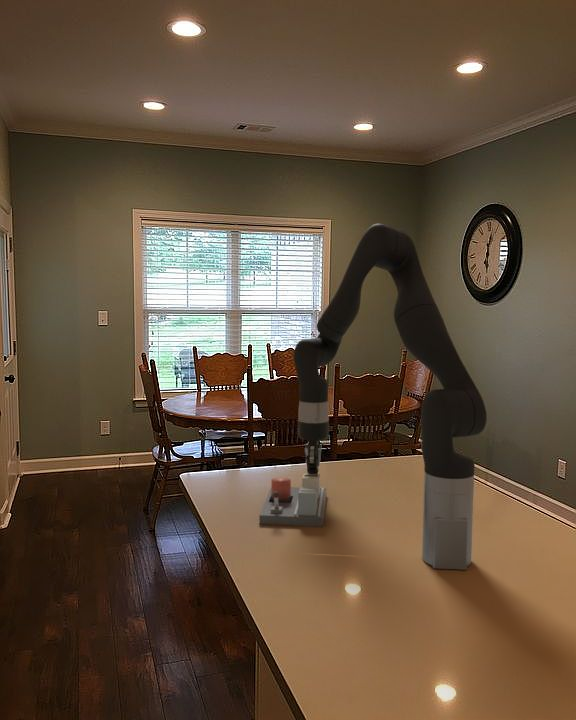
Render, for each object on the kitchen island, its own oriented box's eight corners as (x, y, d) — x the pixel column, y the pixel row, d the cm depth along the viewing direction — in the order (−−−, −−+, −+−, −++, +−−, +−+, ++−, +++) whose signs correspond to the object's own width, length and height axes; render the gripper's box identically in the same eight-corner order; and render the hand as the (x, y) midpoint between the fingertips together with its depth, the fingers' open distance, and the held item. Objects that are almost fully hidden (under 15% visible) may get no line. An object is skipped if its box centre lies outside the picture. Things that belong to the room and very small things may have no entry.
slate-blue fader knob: (316, 515, 142) (316, 492, 142) (298, 515, 142) (298, 492, 142) (317, 509, 146) (317, 487, 146) (299, 509, 146) (299, 486, 146)
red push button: (289, 500, 151) (289, 482, 151) (270, 499, 152) (270, 482, 151) (291, 494, 156) (291, 477, 155) (272, 493, 156) (272, 476, 156)
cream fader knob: (318, 499, 154) (319, 477, 153) (302, 498, 154) (302, 477, 154) (319, 494, 158) (319, 473, 157) (303, 493, 158) (303, 472, 158)
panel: (322, 526, 141) (322, 495, 140) (259, 524, 142) (259, 492, 142) (326, 496, 163) (326, 468, 162) (271, 494, 164) (271, 466, 164)
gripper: (327, 424, 152) (326, 495, 154) (329, 414, 165) (328, 480, 167) (296, 423, 153) (295, 494, 155) (300, 413, 166) (300, 479, 168)
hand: (312, 487), depth 161 cm, fingers closed
